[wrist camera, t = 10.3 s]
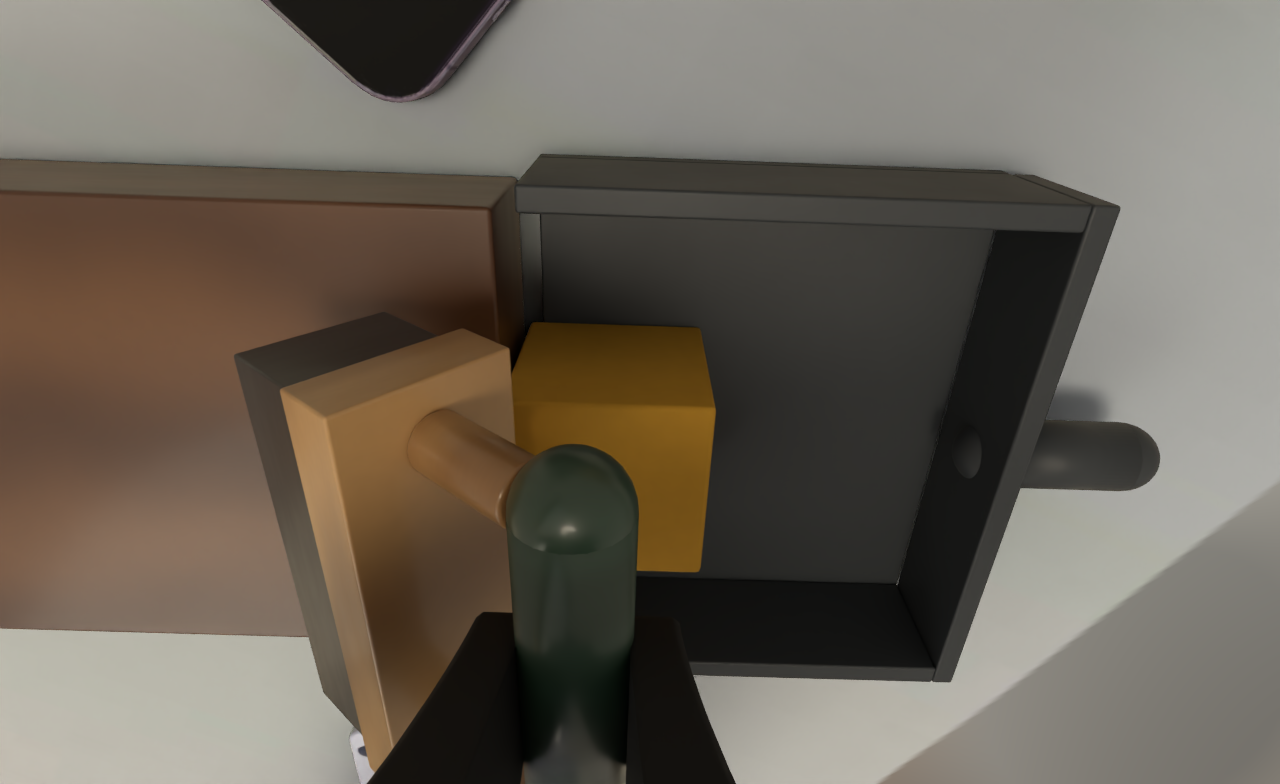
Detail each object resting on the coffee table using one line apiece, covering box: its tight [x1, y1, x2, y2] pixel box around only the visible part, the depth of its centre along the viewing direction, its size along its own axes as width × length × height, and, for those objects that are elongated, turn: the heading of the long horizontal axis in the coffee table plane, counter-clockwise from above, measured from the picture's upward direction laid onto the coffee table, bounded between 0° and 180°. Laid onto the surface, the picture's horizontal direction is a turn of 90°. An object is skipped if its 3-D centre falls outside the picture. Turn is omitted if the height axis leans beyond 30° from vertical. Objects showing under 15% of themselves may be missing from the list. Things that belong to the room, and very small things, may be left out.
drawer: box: [514, 154, 1160, 682], centre depth 16 cm, size 14×12×3 cm
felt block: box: [511, 322, 716, 572], centre depth 15 cm, size 4×4×4 cm
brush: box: [234, 312, 639, 784], centre depth 11 cm, size 8×3×7 cm
